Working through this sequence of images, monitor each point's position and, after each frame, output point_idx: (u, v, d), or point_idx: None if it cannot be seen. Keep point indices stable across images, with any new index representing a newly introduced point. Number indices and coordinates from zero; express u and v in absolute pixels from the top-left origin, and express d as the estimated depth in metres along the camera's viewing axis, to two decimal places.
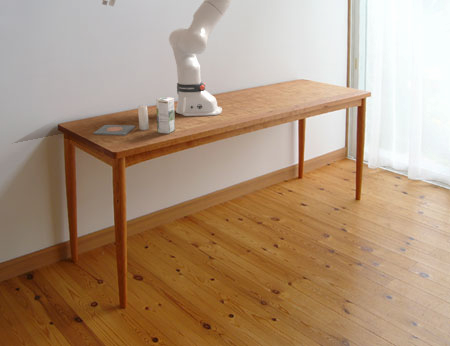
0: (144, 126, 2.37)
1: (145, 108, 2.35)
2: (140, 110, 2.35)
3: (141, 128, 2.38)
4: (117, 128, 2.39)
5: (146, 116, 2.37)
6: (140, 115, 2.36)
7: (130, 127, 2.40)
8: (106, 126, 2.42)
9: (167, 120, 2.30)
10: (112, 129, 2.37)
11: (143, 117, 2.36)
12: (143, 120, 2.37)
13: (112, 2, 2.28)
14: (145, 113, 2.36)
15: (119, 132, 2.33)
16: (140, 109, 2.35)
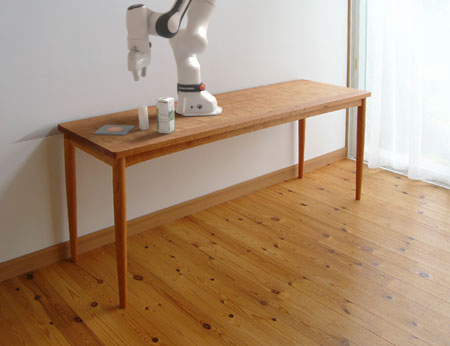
0: (144, 126, 2.37)
1: (145, 108, 2.35)
2: (140, 110, 2.35)
3: (141, 128, 2.38)
4: (117, 128, 2.39)
5: (146, 116, 2.37)
6: (140, 115, 2.36)
7: (130, 127, 2.40)
8: (106, 126, 2.42)
9: (167, 120, 2.30)
10: (112, 129, 2.37)
11: (143, 117, 2.36)
12: (143, 120, 2.37)
13: (136, 77, 2.27)
14: (145, 113, 2.36)
15: (119, 132, 2.33)
16: (140, 109, 2.35)
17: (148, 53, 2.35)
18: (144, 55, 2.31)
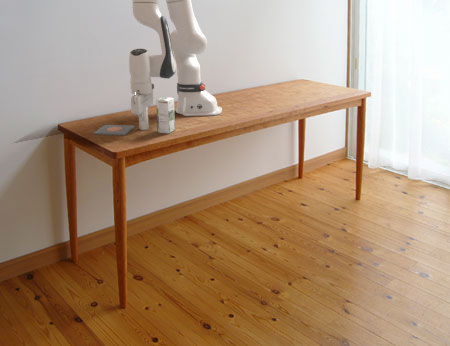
0: (144, 126, 2.37)
1: None
2: None
3: (141, 128, 2.38)
4: (117, 128, 2.39)
5: (146, 116, 2.37)
6: None
7: (130, 127, 2.40)
8: (106, 126, 2.42)
9: (167, 120, 2.30)
10: (112, 129, 2.37)
11: None
12: None
13: (140, 118, 2.35)
14: (145, 113, 2.36)
15: (119, 132, 2.33)
16: None
17: (151, 94, 2.42)
18: (147, 97, 2.37)
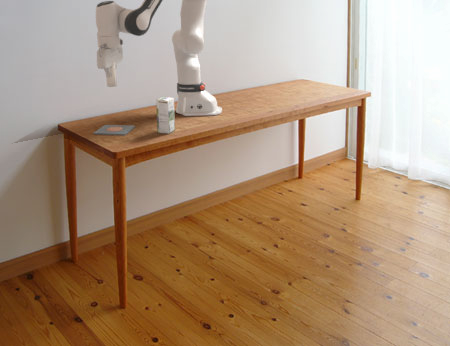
0: (111, 82, 2.29)
1: None
2: None
3: (108, 85, 2.29)
4: (117, 128, 2.39)
5: (114, 72, 2.28)
6: None
7: (130, 127, 2.40)
8: (106, 126, 2.42)
9: (167, 120, 2.30)
10: (112, 129, 2.37)
11: (111, 73, 2.28)
12: None
13: (108, 74, 2.26)
14: (112, 69, 2.27)
15: (119, 132, 2.33)
16: None
17: (119, 50, 2.33)
18: (115, 52, 2.29)
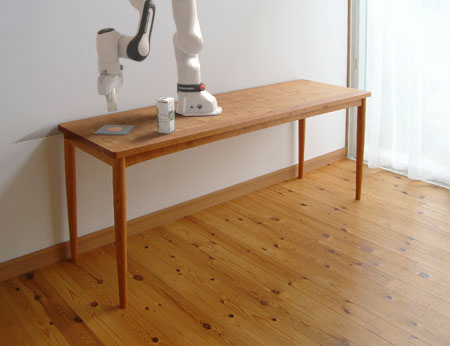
0: (112, 107, 2.33)
1: None
2: None
3: (109, 109, 2.33)
4: (117, 128, 2.39)
5: (114, 97, 2.32)
6: None
7: (130, 127, 2.40)
8: (106, 126, 2.42)
9: (167, 120, 2.30)
10: (112, 129, 2.37)
11: None
12: None
13: (108, 99, 2.30)
14: (113, 94, 2.31)
15: (119, 132, 2.33)
16: None
17: (120, 75, 2.37)
18: (115, 78, 2.33)
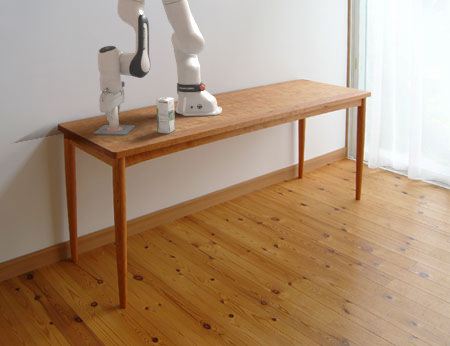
0: (114, 126, 2.36)
1: (115, 108, 2.33)
2: None
3: (111, 128, 2.36)
4: None
5: (116, 116, 2.35)
6: None
7: (130, 127, 2.40)
8: (106, 126, 2.42)
9: (167, 120, 2.30)
10: None
11: (113, 117, 2.34)
12: (113, 120, 2.35)
13: (109, 117, 2.31)
14: (115, 113, 2.34)
15: (119, 132, 2.33)
16: None
17: (121, 92, 2.39)
18: (117, 95, 2.35)
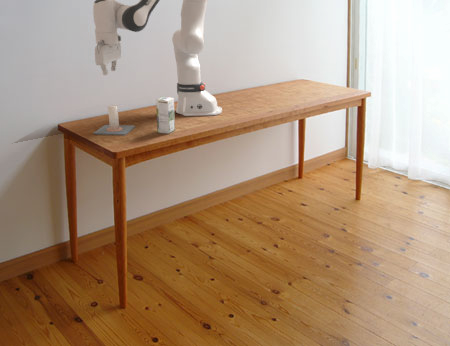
0: (114, 126, 2.36)
1: (115, 108, 2.33)
2: (110, 110, 2.33)
3: (111, 128, 2.36)
4: None
5: (116, 116, 2.35)
6: (110, 115, 2.34)
7: (130, 127, 2.40)
8: (106, 126, 2.42)
9: (167, 120, 2.30)
10: None
11: (113, 117, 2.34)
12: (113, 120, 2.35)
13: (104, 71, 2.24)
14: (115, 113, 2.34)
15: (119, 132, 2.33)
16: (110, 109, 2.33)
17: (118, 47, 2.33)
18: (113, 49, 2.29)
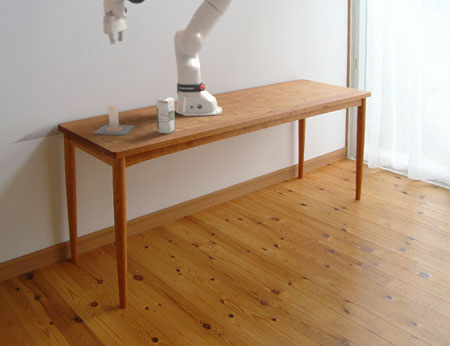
0: (114, 126, 2.36)
1: (115, 108, 2.33)
2: (110, 110, 2.33)
3: (111, 128, 2.36)
4: None
5: (116, 116, 2.35)
6: (110, 115, 2.34)
7: (130, 127, 2.40)
8: (106, 126, 2.42)
9: (167, 120, 2.30)
10: None
11: (113, 117, 2.34)
12: (113, 120, 2.35)
13: (112, 41, 2.38)
14: (115, 113, 2.34)
15: (119, 132, 2.33)
16: (110, 109, 2.33)
17: (124, 18, 2.47)
18: (120, 20, 2.43)
